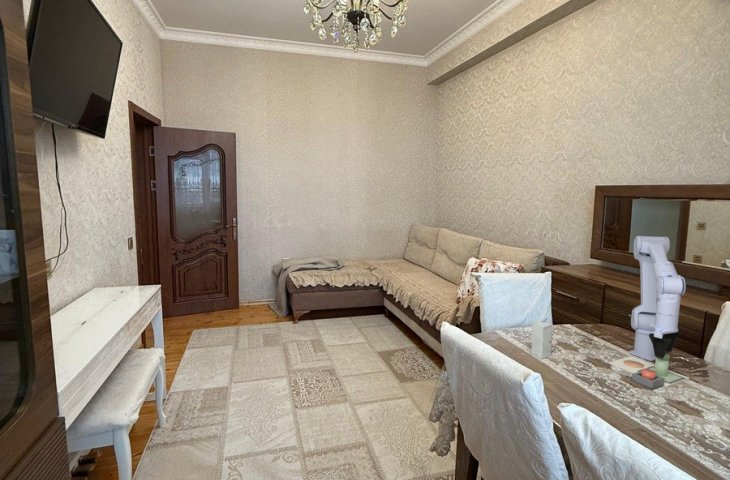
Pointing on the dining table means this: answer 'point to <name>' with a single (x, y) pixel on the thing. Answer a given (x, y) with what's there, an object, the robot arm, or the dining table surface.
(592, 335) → the dining table surface
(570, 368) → the dining table surface
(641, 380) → the button housing
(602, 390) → the dining table surface
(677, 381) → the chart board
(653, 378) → the button
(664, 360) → the green cup
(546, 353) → the skincare box
